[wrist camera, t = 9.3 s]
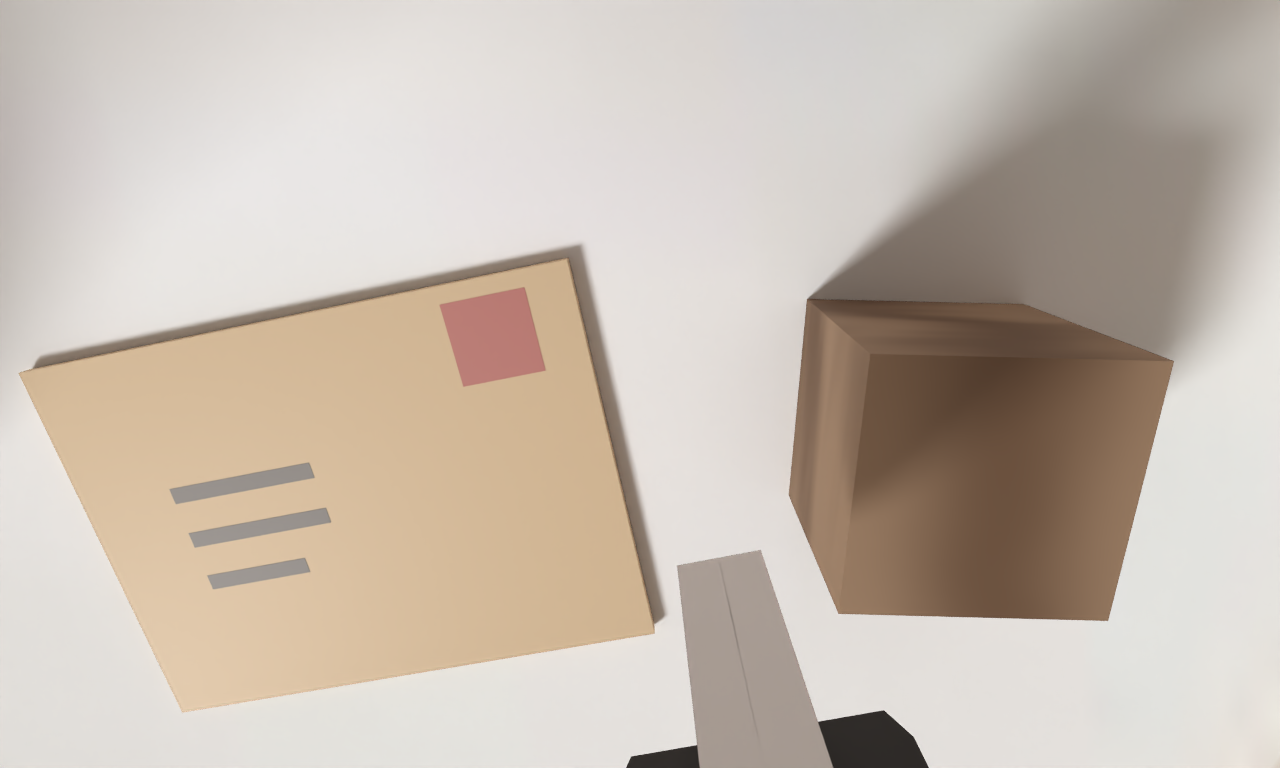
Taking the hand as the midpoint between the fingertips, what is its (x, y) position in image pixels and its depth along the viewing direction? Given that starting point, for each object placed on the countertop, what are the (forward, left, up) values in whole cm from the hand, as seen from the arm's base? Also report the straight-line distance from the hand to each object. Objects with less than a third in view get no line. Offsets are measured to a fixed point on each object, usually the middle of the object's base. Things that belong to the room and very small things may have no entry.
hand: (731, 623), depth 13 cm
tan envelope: (-11, 0, -9) cm, 14 cm away
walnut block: (+6, 0, -9) cm, 11 cm away
